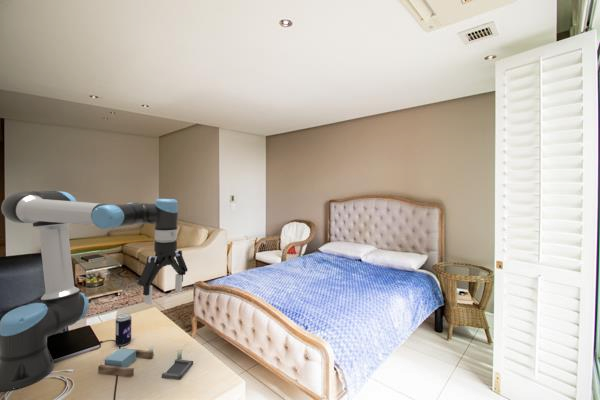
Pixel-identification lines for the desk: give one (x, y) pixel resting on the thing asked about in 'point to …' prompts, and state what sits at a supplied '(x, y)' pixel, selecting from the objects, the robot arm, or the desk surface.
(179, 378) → the tray
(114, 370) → the parallel brown rails
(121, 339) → the beverage can
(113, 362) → the block
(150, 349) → the goal posts
